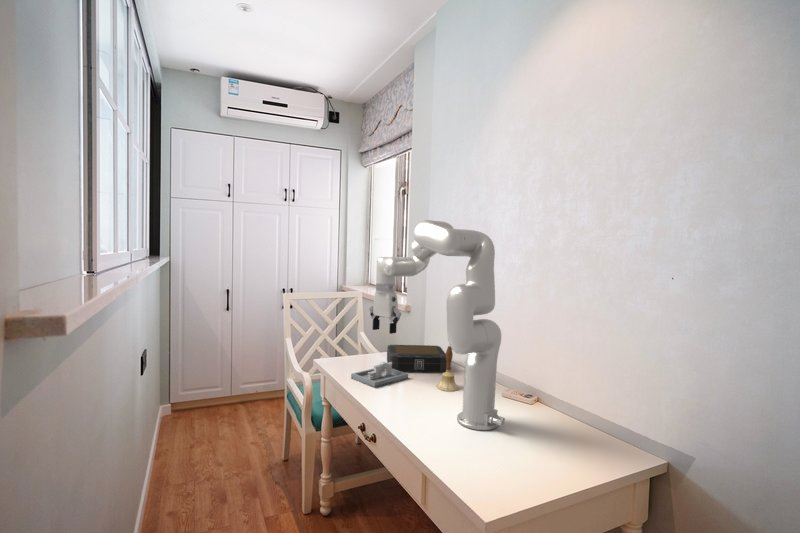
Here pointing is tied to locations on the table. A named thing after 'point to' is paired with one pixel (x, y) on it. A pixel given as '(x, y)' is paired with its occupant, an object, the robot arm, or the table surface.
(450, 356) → the hand bell
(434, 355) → the cash box
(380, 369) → the white toothed rack
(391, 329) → the robot arm
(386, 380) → the tray
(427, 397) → the table surface
